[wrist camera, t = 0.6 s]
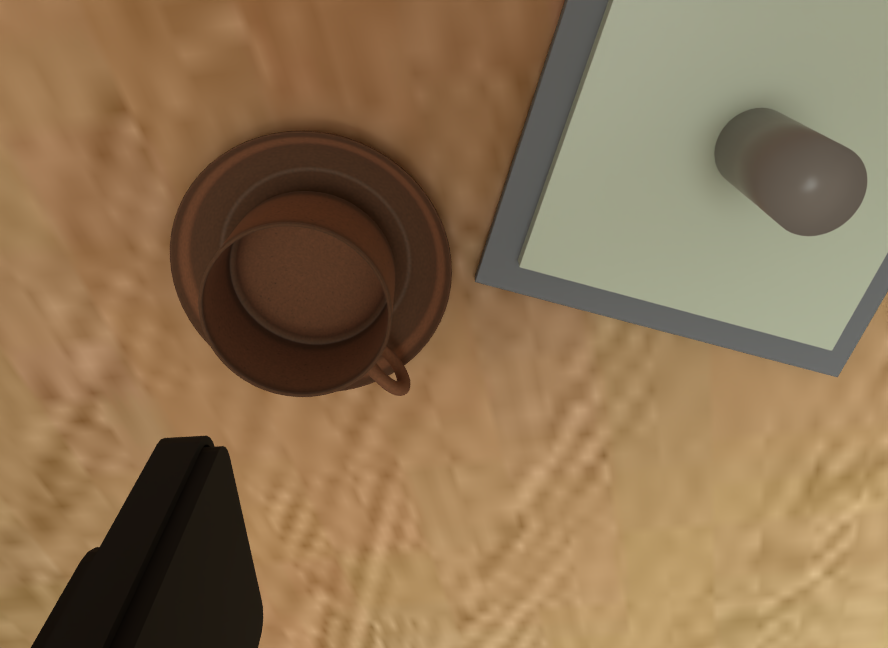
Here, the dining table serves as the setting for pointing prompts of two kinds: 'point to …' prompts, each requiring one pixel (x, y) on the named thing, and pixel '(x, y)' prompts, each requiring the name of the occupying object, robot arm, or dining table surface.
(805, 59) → the cover board
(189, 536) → the robot arm
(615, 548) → the dining table surface
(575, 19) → the rubber mat
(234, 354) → the cup and saucer
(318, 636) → the dining table surface
